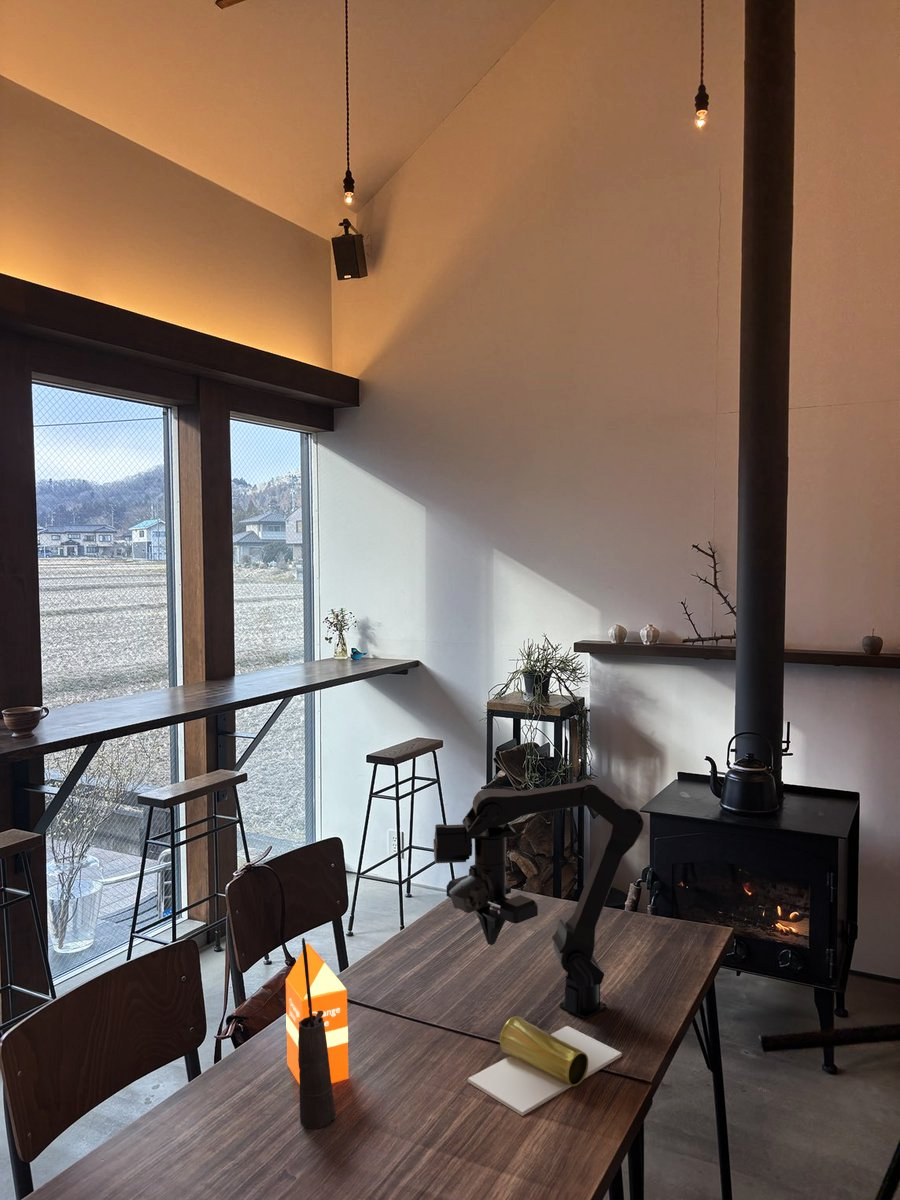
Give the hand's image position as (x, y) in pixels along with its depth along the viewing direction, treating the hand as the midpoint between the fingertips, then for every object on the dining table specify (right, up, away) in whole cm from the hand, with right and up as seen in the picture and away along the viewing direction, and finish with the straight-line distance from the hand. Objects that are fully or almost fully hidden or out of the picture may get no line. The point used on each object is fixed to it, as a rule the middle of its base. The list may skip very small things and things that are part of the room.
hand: (491, 944), depth 163 cm
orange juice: (-29, -14, -18) cm, 37 cm away
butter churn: (-27, -15, -29) cm, 42 cm away
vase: (+3, -10, -13) cm, 17 cm away
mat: (+8, -14, -18) cm, 24 cm away
